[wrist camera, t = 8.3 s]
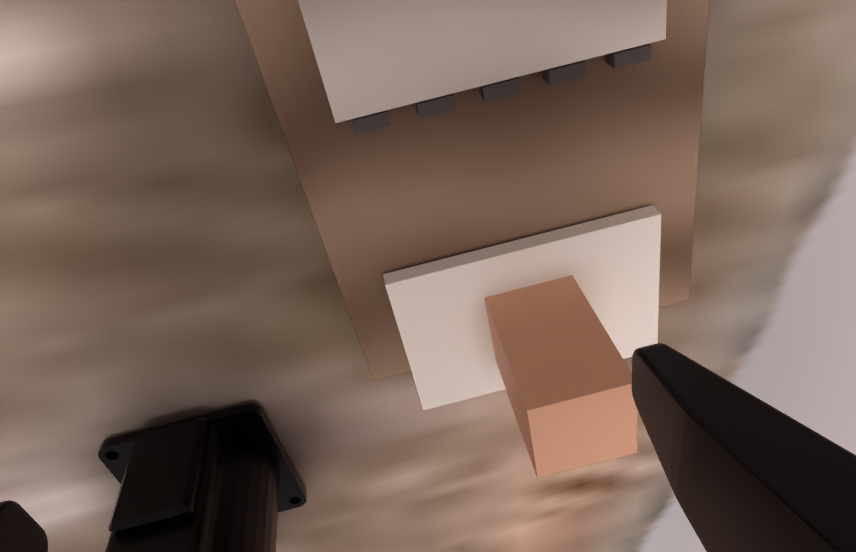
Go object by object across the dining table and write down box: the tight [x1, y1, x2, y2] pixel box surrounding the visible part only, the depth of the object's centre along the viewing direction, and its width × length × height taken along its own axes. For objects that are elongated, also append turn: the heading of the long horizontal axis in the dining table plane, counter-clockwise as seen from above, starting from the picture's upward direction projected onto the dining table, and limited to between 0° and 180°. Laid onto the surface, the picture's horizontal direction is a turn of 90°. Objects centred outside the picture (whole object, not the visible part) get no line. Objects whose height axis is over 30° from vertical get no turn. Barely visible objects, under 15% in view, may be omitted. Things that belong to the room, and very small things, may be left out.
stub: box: [383, 205, 661, 478], centre depth 19 cm, size 6×9×6 cm, turn 101°
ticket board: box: [235, 0, 709, 381], centre depth 18 cm, size 18×12×2 cm, turn 11°
